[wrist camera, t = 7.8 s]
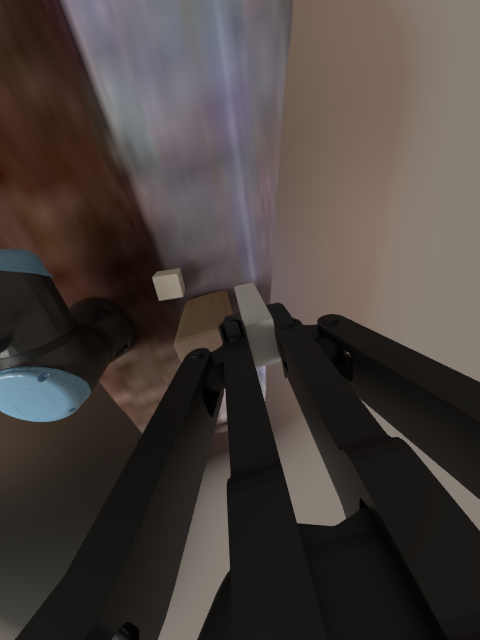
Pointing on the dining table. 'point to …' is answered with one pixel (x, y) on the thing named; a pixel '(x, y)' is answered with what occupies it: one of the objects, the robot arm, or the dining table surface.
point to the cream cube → (169, 284)
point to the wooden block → (202, 323)
